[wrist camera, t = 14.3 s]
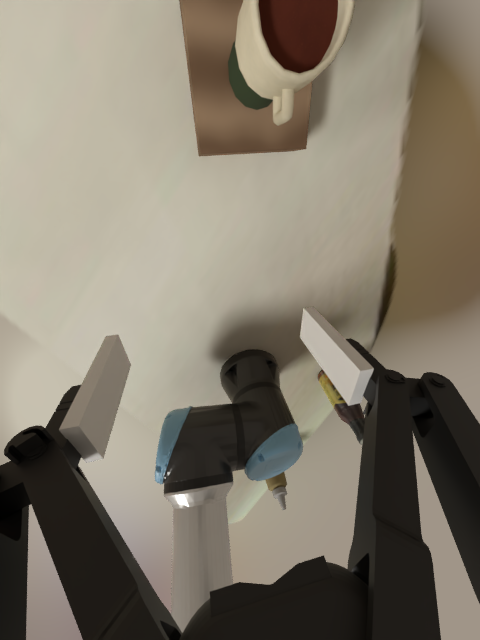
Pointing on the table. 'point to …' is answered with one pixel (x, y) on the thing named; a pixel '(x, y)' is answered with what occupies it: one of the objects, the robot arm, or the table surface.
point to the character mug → (284, 49)
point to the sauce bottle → (344, 407)
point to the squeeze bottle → (278, 488)
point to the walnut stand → (217, 94)
